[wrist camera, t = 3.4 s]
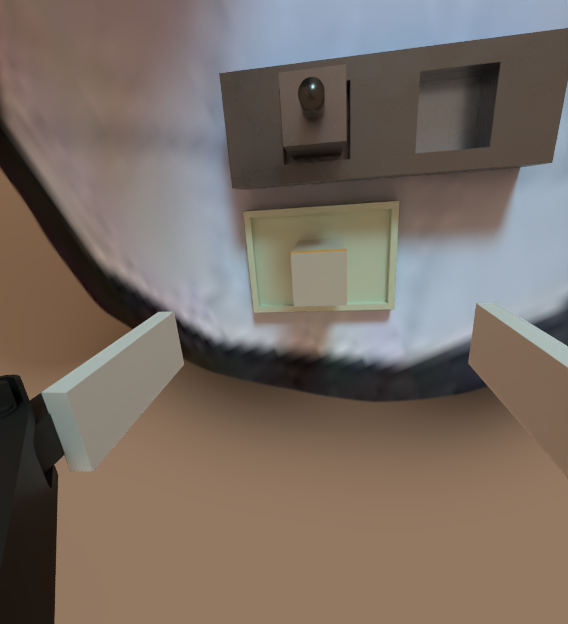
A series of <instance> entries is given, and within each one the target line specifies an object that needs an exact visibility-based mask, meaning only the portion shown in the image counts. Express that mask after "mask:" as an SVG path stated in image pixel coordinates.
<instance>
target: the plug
mask: <svg viewBox="0 0 568 624" xmlns="http://www.w3.org/2000/svg"><path fill="white" fill-rule="evenodd" d="M291 270H292V286H293V302H294V307H299V306H336V305H347V249H345V247H344V244H343V241H342V239H341V238H336V239H318V240H299V241H298V243H297V245H296V246H295V248H294V250H293V251H291Z"/></svg>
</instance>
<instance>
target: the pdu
mask: <svg viewBox="0 0 568 624" xmlns="http://www.w3.org/2000/svg"><path fill="white" fill-rule="evenodd" d="M219 74H220V83H221V92H222V100H223V109H224V118H225V127H226V136H227V144H228V153H229V162H230V171H231V180H232V188H238V189H251V188H263V187H276V186H289V185H302V184H314V183H327V182H340V181H353V180H365V179H378V178H391V177H404V176H416V175H429V174H442V173H454V172H467V171H480V170H493V169H505V168H518V167H526V166H533V165H540V164H546V163H552V161H553V155H554V150H555V145H556V140H557V134H558V129H559V124H560V118H561V113H562V108H563V103H564V97H565V92H566V87H567V81H568V28H565V29H557V30H549V31H542V32H534V33H526V34H519V35H511V36H503V37H496V38H488V39H480V40H472V41H465V42H457V43H449V44H442V45H434V46H426V47H419V48H411V49H403V50H396V51H388V52H380V53H373V54H365V55H357V56H350V57H342V58H334V59H326V60H319V61H311V62H303V63H296V64H288V65H280V66H273V67H265V68H257V69H250V70H242V71H234V72H227V73H219Z"/></svg>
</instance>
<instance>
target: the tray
mask: <svg viewBox="0 0 568 624" xmlns="http://www.w3.org/2000/svg"><path fill="white" fill-rule="evenodd" d="M243 215H244V224H245V234H246V243H247V253H248V262H249V271H250V281H251V290H252V300H253V309H254V313H265V312H306V311H346V310H387V309H394V306H395V285H396V264H397V243H398V222H399V201H386V202H372V203H357V204H343V205H328V206H314V207H299V208H285V209H270V210H256V211H244V212H243ZM336 238H341V239H342V241H343V244H344V247H345V249H347V305H336V306H299V307H294V302H293V286H292V270H291V251H293V250H294V248H295V246H296V245H297V243H298V241H299V240H318V239H336Z"/></svg>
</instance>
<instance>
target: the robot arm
mask: <svg viewBox="0 0 568 624" xmlns="http://www.w3.org/2000/svg"><path fill="white" fill-rule="evenodd" d="M183 365H184V362H183V356H182V351H181V346H180V341H179V336H178V331H177V325H176V320H175V315H174V312H158V313H156V314H155V315H153V316H152V317H150V318H149V319H148V320H146V321H145V322H143V323H142V324H140V325H139V326H137V327H136V328H134V329H133V330H132V331H130V332H129V333H127V334H126V335H124V336H123V337H121V338H120V339H118V340H117V341H116V342H114V343H113V344H111V345H110V346H108V347H107V348H105V349H104V350H102V351H101V352H100V353H98V354H97V355H95V356H94V357H92V358H91V359H89V360H88V361H86V362H85V363H84V364H82V365H81V366H79V367H78V368H76V369H75V370H73V371H72V372H70V373H69V374H68V375H66V376H65V377H63V378H62V379H60V380H59V381H57V382H56V383H54V384H53V385H51V386H50V387H48V388H47V389H46V390H44V391H43V392H41V393H40V394H39V395H37V396H36V397H34V398H33V399H31V400H30V401H29V398H28V396H27V393H26V390H25V388H24V385H23V383H22V380H21V378H20V376H18V375H4V376H0V624H54V615H55V575H56V535H57V534H56V533H57V493H58V473H57V471H56V468H55V466H54V464H55V463H56V462H57V461H58V460H59V459H60V458H61V457H62V456H63V455H64V456H65V458H66V461H67V464H68V467H69V469H70V471H85V472H87V471H88V472H93V471H94V470H95V469H96V468H97V466H98V465H99V464H100V463H101V462H102V461H103V459H104V458H105V457H106V456H107V455H108V453H109V452H110V451H111V450H112V449H113V447H114V446H115V445H116V444H117V443H118V442H119V440H120V439H121V438H122V437H123V436H124V434H125V433H126V432H127V431H128V430H129V429H130V427H131V426H132V425H133V424H134V423H135V422H136V420H137V419H138V418H139V417H140V416H141V415H142V413H143V412H144V411H145V410H146V409H147V407H148V406H149V405H150V404H151V403H152V401H153V400H154V399H155V398H156V397H157V395H158V394H159V393H160V392H161V391H162V390H163V389H164V387H165V386H166V385H167V384H168V383H169V381H170V380H171V379H172V378H173V377H174V376H175V374H176V373H177V372H178V371H179V370H180V368H181V367H182V366H183ZM469 365H470V366H471V367H472V368H473V369H474V370H475V372H476V373H477V374H478V375H479V376H480V377H481V378H482V380H483V381H484V382H485V383H486V384H487V385H488V387H489V388H490V389H491V390H492V391H493V392H494V393H495V395H496V396H497V397H498V398H499V399H500V401H501V402H502V403H503V404H504V405H505V406H506V407H507V409H508V410H509V411H510V412H511V413H512V414H513V415H514V417H515V418H516V419H517V420H518V421H519V423H520V424H521V425H522V426H523V427H524V428H525V429H526V431H527V432H528V433H529V434H530V435H531V436H532V438H533V439H534V440H535V441H536V442H537V443H538V445H539V446H540V447H541V448H542V449H543V450H544V452H545V453H546V454H547V455H548V456H549V457H550V458H551V460H552V461H553V462H554V463H555V464H556V465H557V467H558V468H559V469H560V470H561V471H562V472H563V474H564V475H565V476H566V477H567V478H568V346H566V345H564V344H563V343H561V342H560V341H558V340H556V339H555V338H553V337H551V336H550V335H548V334H547V333H545V332H543V331H542V330H540V329H538V328H537V327H535V326H534V325H532V324H530V323H529V322H527V321H525V320H524V319H522V318H521V317H519V316H517V315H516V314H514V313H512V312H511V311H509V310H508V309H506V308H504V307H503V306H501V305H499V304H498V303H476V310H475V318H474V325H473V333H472V340H471V348H470V355H469Z"/></svg>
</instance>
